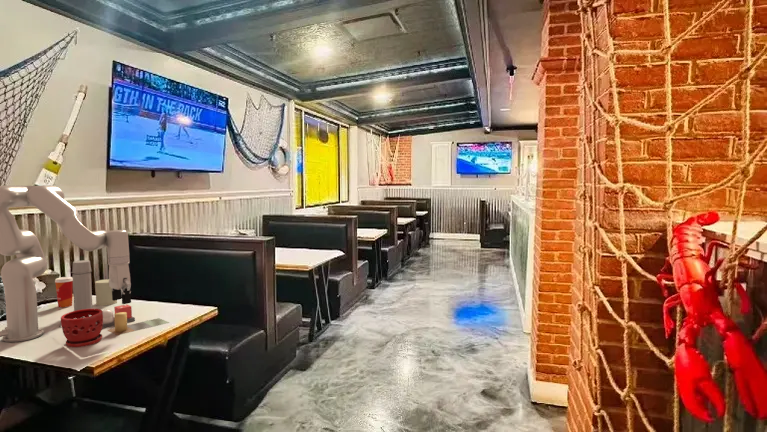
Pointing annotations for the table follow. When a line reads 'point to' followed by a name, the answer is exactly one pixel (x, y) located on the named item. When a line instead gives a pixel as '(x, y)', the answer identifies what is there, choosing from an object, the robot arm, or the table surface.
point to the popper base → (119, 309)
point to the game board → (140, 326)
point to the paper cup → (64, 291)
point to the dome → (107, 316)
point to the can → (103, 293)
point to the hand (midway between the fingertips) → (121, 301)
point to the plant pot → (82, 327)
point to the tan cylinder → (120, 321)
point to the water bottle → (82, 285)
